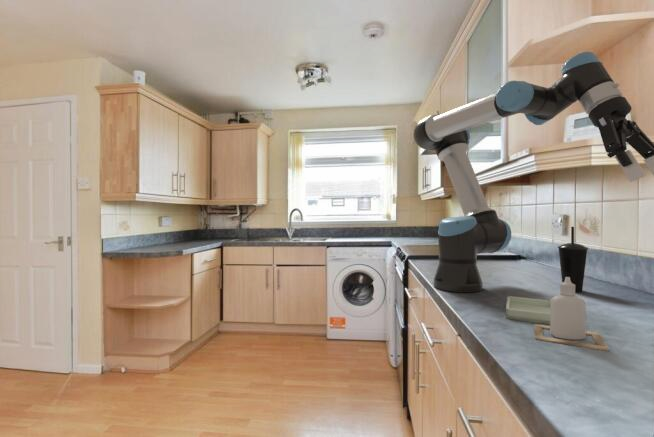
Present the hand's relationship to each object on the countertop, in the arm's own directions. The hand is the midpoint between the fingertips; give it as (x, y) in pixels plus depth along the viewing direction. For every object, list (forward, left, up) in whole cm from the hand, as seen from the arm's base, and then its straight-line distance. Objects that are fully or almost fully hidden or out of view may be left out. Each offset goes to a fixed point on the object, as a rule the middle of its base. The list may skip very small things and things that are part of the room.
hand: (652, 179), depth 72 cm
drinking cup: (-12, +25, -32) cm, 42 cm away
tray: (-24, -8, -32) cm, 40 cm away
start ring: (-18, -21, -32) cm, 42 cm away
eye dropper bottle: (-18, -21, -32) cm, 42 cm away
